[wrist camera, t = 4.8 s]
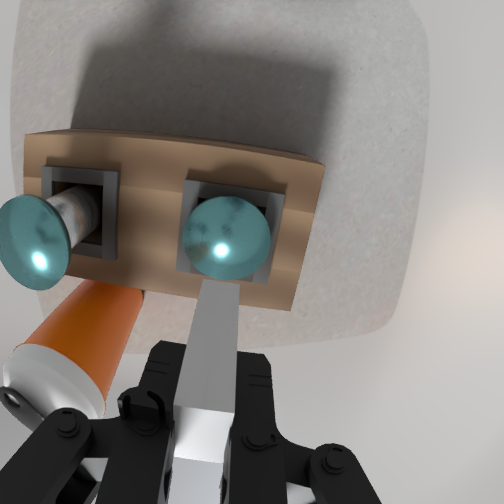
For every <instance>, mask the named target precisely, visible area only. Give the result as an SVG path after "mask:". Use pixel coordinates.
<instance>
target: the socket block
mask: <svg viewBox="0 0 504 504" xmlns="http://www.w3.org/2000/svg"><path fill="white" fill-rule="evenodd" d="M324 168H325V165H323V164H321V163H319V162H318V161H316V160H314V159H312V158H310V157H308V156H306V155H304V154H299V153H293V152H288V151H283V150H277V149H272V148H266V147H260V146H254V145H248V144H241V143H235V142H228V141H221V140H213V139H206V138H198V137H189V136H180V135H170V134H159V133H148V132H134V131H118V130H97V129H63V130H55V131H47V132H39V133H32V134H26V135H25V141H24V194H33V195H37V196H40V197H42V198H43V199H45V200H46V199H48V198H50V197H52V196H54V195H57V194H59V193H61V192H63V191H65V190H67V189H69V188H72V187H74V186H76V185H78V184H81V183H82V184H93V185H102V186H103V208H102V224H101V225H100V226H99V227H98V228H96V229H95V230H94V231H93V232H91V233H90V234H89V235H88V236H87V237H85V238H84V239H83V240H82V241H80V242H79V243H78V244H77V245H76V246H75V247H73V248H72V255H71V262H70V266H69V268H68V270H67V272H66V274H65V275H69V276H74V277H79V278H83V279H88V280H93V281H99V282H104V283H109V284H114V285H120V286H125V287H131V288H136V289H142V290H148V291H153V292H159V293H165V294H171V295H177V296H184V297H190V298H197V299H198V297H199V293H200V289H201V285H202V282H203V279H207V280H214V281H221V282H228V283H234V284H240V289H239V305H245V306H253V307H260V308H268V309H276V310H285V311H291V307H292V303H293V299H294V296H295V292H296V288H297V284H298V280H299V276H300V272H301V268H302V264H303V260H304V256H305V252H306V248H307V244H308V240H309V235H310V231H311V227H312V223H313V218H314V214H315V210H316V205H317V201H318V196H319V192H320V187H321V183H322V178H323V173H324ZM219 195H234V196H239V197H242V198H245V199H246V200H248V201H250V202H252V203H253V204H255V205H256V206H257V207H258V208H259V209H260V210H261V212H262V213H263V215H264V216H265V218H266V220H267V222H268V226H269V229H270V235H271V244H270V249H269V253H268V255H267V258H266V259H265V261H264V262H263V264H262V265H261V266H260V267H259V268H258V269H257V270H256V271H255V272H253V273H252V274H250V275H248V276H246V277H244V278H241V279H237V280H218V279H214V278H211V277H209V276H207V275H205V274H203V273H201V272H200V271H199V270H198V269H196V268H195V267H194V266H193V265H192V263H191V262H190V261H189V259H188V257H187V255H186V253H185V250H184V246H183V230H184V226H185V223H186V221H187V219H188V217H189V216H190V214H191V213H192V211H193V210H194V209H195V208H196V207H197V206H198V205H199V204H200V203H202V202H203V201H205V200H207V199H209V198H211V197H214V196H219Z"/></svg>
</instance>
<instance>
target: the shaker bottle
mask: <svg viewBox="0 0 504 504" xmlns="http://www.w3.org/2000/svg"><path fill="white" fill-rule="evenodd" d="M142 303H143V294H142V290H141V289H136V288H131V287H125V286H120V285H114V284H109V283H104V282H99V281H93V280H88V279H85V280H84V281H83V282H82V283H81V284H80V285H79V286H78V287H77V288H76V289H75V290H74V291H73V292H72V293H71V294H70V295H69V296H68V297H67V298H66V299H65V300H64V301H63V302H62V303H61V304H60V305H59V306H58V307H57V308H56V309H55V310H54V311H53V312H52V313H51V314H50V315H49V316H48V317H47V319H46V320H45V321H44V322H43V323H42V324H41V325H40V326H39V327H38V328H37V329H36V330H35V331H34V332H33V334H32V335H31V336H30V337H29V338H28V339H27V340H26V341H25V342H24V343H22V344H21V345H18V346H17V347H16V348H15V349H14V351H13V353H12V354H11V355H10V357H9V358H8V359H7V360H6V362H5V363H4V366H3V379H4V386H2V387H0V401H1V402H2V404H3V405H4V406H5V407H6V408H7V409H8V411H9V412H10V413H11V414H12V415H13V416H15V417H16V418H17V419H18V420H19V421H20V422H21V423H22V424H24V425H25V426H26V427H28V428H29V429H30V430H32V431H33V432H34V431H35V430H36V428H37V427H38V426H39V425H40V424H41V423H42V422H43V421H44V419H45V418H46V417H47V416H48V415H49V414H50V413H52V412H53V411H54V410H56V409H59V408H63V407H70V408H75V409H78V410H80V411H82V412H83V413H84V414H85V415H86V416H87V417H88V419H102V417H103V415H104V413H105V410H106V403H105V401H106V398H107V395H108V392H109V390H110V386H111V384H112V381H113V378H114V376H115V373H116V370H117V367H118V365H119V362H120V359H121V356H122V354H123V351H124V349H125V346H126V344H127V341H128V339H129V336H130V333H131V331H132V328H133V326H134V323H135V321H136V319H137V316H138V314H139V311H140V309H141V306H142Z"/></svg>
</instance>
